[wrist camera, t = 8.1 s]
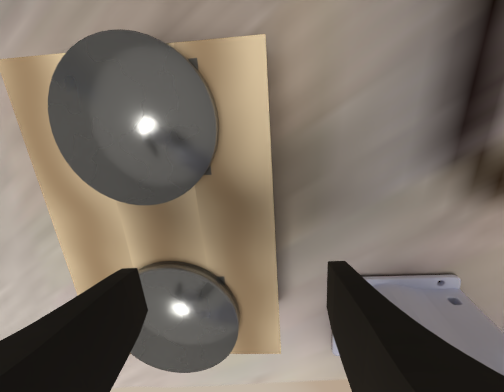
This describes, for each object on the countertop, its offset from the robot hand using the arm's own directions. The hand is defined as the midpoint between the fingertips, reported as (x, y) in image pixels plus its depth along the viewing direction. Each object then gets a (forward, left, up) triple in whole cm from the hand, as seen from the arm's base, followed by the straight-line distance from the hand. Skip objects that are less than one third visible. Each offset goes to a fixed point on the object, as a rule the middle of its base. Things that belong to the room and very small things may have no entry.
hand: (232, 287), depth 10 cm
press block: (+5, 0, -10) cm, 11 cm away
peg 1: (+5, -6, -9) cm, 12 cm away
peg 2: (+5, +6, -9) cm, 12 cm away
